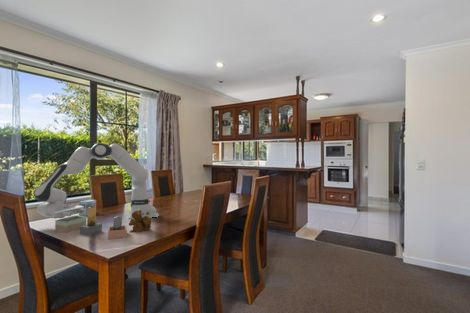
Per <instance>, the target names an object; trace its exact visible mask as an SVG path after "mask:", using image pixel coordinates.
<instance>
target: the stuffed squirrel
mask: <svg viewBox="0 0 470 313" xmlns="http://www.w3.org/2000/svg"><path fill="white" fill-rule="evenodd" d="M141 212H142V211H141V210H140V211H135V212H133V213H132V218H134V219H130V220H129V223H128V226H131V227H132V229H131V230H129V233H140V232H147V231H149V230H150V229H151V228H152V226H151V225H152V218H149V217H148V216H144V217H143V218H142V213H141Z"/></svg>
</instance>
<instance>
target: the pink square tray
mask: <svg viewBox="0 0 470 313" xmlns="http://www.w3.org/2000/svg"><path fill="white" fill-rule="evenodd" d="M107 228H108V229H107V239H108V240H113V239H122V238H127V235H128V234H127V232H128V229H127V225H124V224H123V225H122V227H121V230H114V231H113V226H108V227H107Z"/></svg>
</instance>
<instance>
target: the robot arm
mask: <svg viewBox="0 0 470 313" xmlns="http://www.w3.org/2000/svg"><path fill="white" fill-rule="evenodd" d="M107 157H109V158H111V159H113V160H114V161H115V162H116V163H117V164H118V165H119V167H121V168H122V169H123V171H125V173H126V174H128V175H129V176H130V177H131V199H130V210H129V215H128V218H129V219H130V220H131V219H134V218H132V213H133V212H135V211H140V210H141V211H142V212H141V213H142V218H143V217H144V216H148V217H149V218H150V219H153V218H152V217H157V218H159V217H160V214H159V213H158V212H157V209H156V207H154V206H153V205H152V204H151V199H149V198H148V197H147V196H148V194H147V193H148V186H147V183H148V182H147V180H148V178H149V172H148V170H147V169H146V168H145V167H144V166H143V165H142V164H141V163H140V162H138V160H136V159H135V158H134V157H133V155H131V154H130V153H129V152H128V151H127V150H126V149H125V148H124V147H123V146H121V145H120V144H118V143H112V144H110V145H109V144H106V143H102V142H98V143H94V145H93V146H92V147H89V148H88V147H86V146H80V147H78V148H77V149H75V150H74V152H73V153H72V154H71V156H70V157H69V159H67V161H66V162H64V163H61V164H60V165H57V167H55V169H54V170H53V171H52V173H51V174H50V175H49V176H47V178H46V179H45V181H43V182H42V183H41V184H40V185H39V186H38V187H37V188H36V189H35V190H34V193H33V194H34V198H35V200H36V201H39V202H42V203H39V205H38V206H37V208H36V211H37V214H39V215H41V216H43V217H47V218H51V219H63V218H66V217H72V215H73V216H74V215H78V214H79V213H84V212H85V207H84V206H80V205H79V204H75V203H66V202H67V199H68V193H67V192H66V190H65V191H64V190H62V189H60V188H59V189H58V188H56V187H54V185H55V184H56V183H57V182H58V181H59V180H60V179H61V177H63V176H65V175H77V174H81V173H82V172H83V171H84V170H85V169H86V167H87V165H88V164H89V162H90V161H91V160H96V161H99V160H100V161H101V160H103V159H105V158H107ZM158 216H159V217H158Z"/></svg>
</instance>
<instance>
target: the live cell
mask: <svg viewBox="0 0 470 313" xmlns="http://www.w3.org/2000/svg"><path fill="white" fill-rule="evenodd" d="M96 221H97V206H96V207H94V206H91V207H88V215H87V216H86V225H87V226H95V225H96V223H97V222H96Z"/></svg>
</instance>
